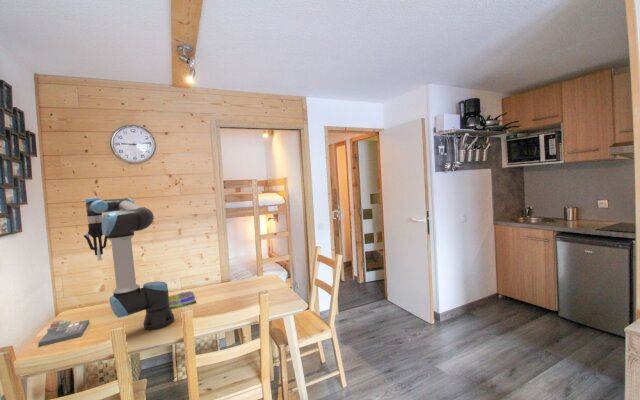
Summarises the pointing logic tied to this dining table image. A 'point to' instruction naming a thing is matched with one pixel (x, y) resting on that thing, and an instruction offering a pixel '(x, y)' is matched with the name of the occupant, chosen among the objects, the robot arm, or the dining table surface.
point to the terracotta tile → (55, 324)
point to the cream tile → (73, 326)
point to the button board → (62, 334)
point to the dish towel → (181, 300)
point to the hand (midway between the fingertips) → (99, 260)
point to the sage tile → (64, 324)
